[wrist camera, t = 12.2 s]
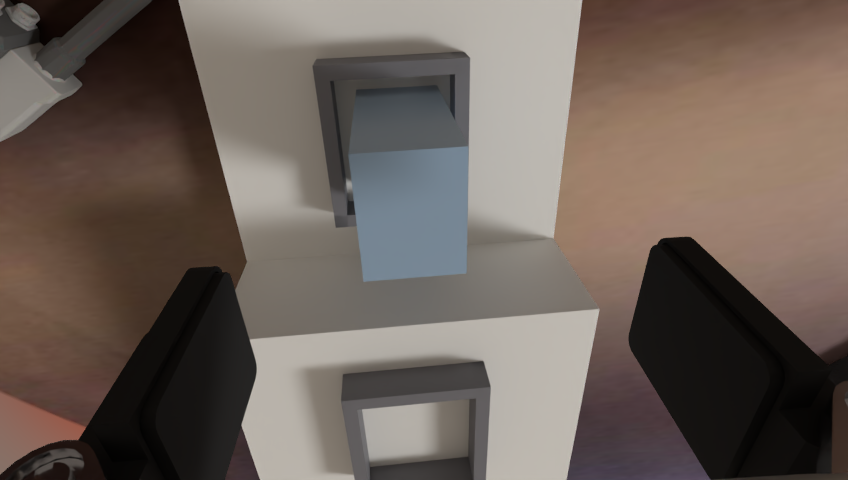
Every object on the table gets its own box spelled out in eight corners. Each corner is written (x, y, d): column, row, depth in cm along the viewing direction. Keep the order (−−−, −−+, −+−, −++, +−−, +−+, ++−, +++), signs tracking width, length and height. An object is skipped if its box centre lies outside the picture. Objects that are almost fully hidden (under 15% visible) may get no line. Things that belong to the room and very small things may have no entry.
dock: (194, -4, 20) (73, 21, 12) (567, -20, 21) (690, -7, 13) (292, 395, 32) (265, 542, 24) (526, 373, 33) (576, 507, 25)
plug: (356, 89, 21) (348, 154, 14) (436, 85, 21) (468, 146, 14) (366, 185, 23) (363, 281, 16) (438, 180, 23) (466, 273, 16)
